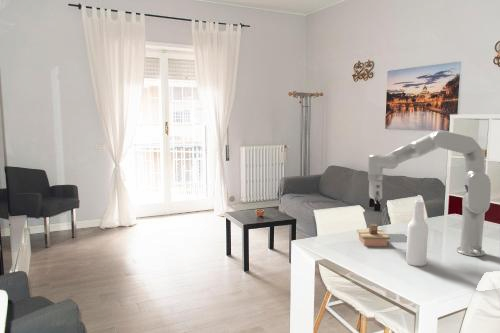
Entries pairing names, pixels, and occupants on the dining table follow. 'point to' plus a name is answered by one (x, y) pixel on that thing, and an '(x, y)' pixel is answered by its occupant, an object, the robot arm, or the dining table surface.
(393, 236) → the mat
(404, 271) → the dining table surface
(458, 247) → the robot arm
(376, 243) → the dish
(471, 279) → the dining table surface
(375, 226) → the lid
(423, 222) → the alcohol
